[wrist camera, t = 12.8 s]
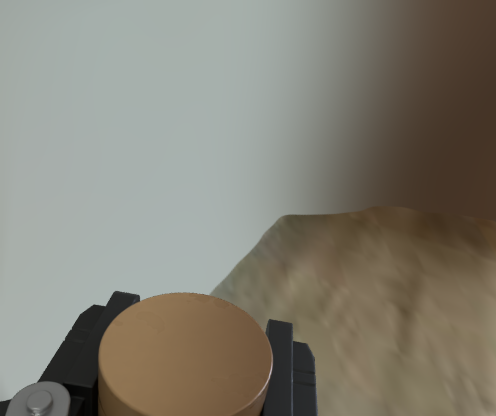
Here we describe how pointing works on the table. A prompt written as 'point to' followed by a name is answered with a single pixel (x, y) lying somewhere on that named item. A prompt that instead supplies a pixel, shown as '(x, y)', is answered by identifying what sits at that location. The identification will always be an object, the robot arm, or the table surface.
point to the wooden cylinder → (183, 359)
